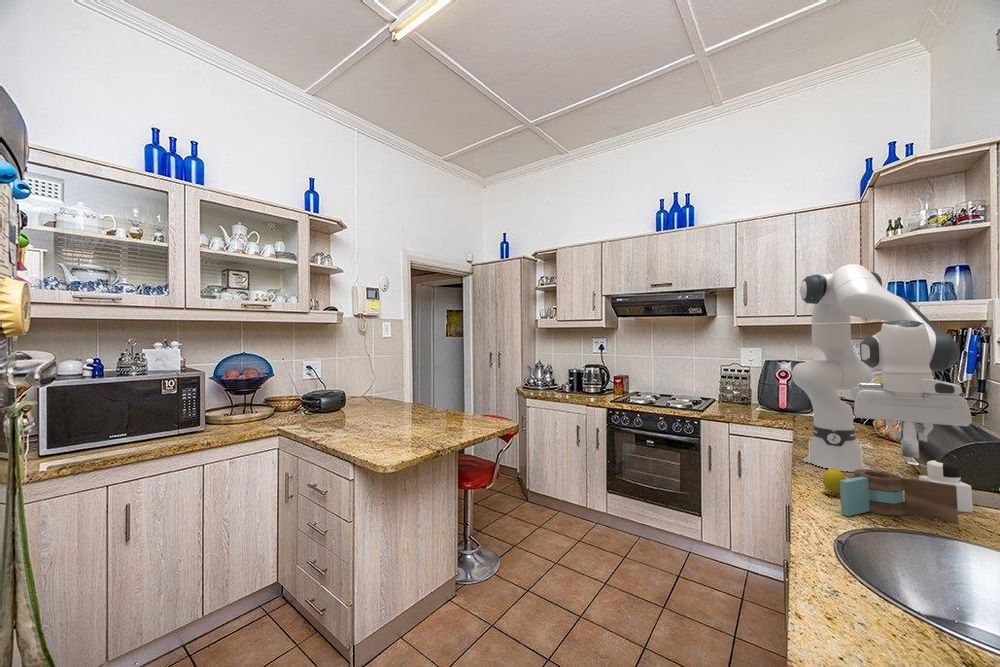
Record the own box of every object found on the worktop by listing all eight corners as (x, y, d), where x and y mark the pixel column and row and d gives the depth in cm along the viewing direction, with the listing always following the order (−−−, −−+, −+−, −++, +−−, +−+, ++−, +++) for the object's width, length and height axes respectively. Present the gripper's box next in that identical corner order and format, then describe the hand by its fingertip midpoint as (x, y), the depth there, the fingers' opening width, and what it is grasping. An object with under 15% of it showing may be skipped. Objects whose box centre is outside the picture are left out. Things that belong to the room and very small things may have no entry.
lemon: (838, 492, 118) (837, 465, 119) (852, 499, 113) (851, 471, 113) (818, 491, 119) (817, 465, 119) (832, 498, 113) (831, 470, 114)
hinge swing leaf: (868, 498, 112) (867, 468, 112) (910, 511, 103) (908, 478, 104) (825, 508, 106) (823, 476, 106) (865, 522, 97) (863, 487, 98)
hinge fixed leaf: (855, 499, 113) (854, 467, 113) (953, 516, 100) (951, 481, 101) (857, 509, 106) (855, 475, 106) (962, 529, 94) (959, 491, 94)
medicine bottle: (952, 502, 109) (949, 459, 110) (973, 513, 102) (970, 467, 103) (919, 500, 111) (917, 457, 112) (938, 510, 105) (936, 465, 105)
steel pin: (901, 454, 99) (898, 410, 100) (918, 456, 97) (915, 411, 98) (902, 456, 97) (900, 412, 97) (920, 458, 95) (917, 413, 95)
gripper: (851, 383, 102) (853, 436, 102) (971, 387, 89) (975, 448, 88) (850, 381, 107) (853, 432, 106) (964, 385, 94) (968, 443, 93)
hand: (909, 439), depth 97 cm, fingers closed on steel pin, 3 cm apart
